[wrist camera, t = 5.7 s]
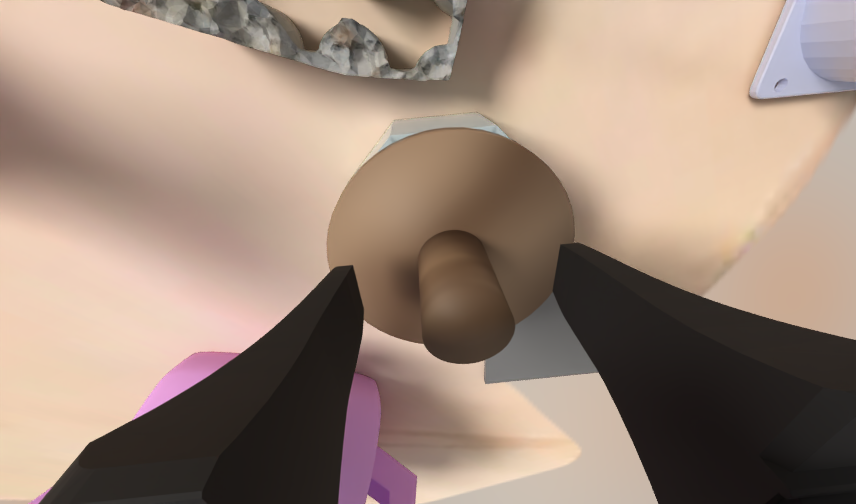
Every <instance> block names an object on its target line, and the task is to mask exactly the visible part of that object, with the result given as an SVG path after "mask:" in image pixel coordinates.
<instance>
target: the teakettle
mask: <svg viewBox="0 0 856 504" xmlns="http://www.w3.org/2000/svg"><path fill="white" fill-rule="evenodd" d="M238 355H239V354H238V353H225V352H198V353H194V354H192V355H191V356H189V357H188V358H186V359H185V360H183V361H182V362H181V363H180V364H178V365H177V366H176V367H174V368H173V369H172V370H171V371H169V372H168V373H167V374H166V375H165V376H164V377H163V378H162V379H161V380H160V382H159V383H158V384H157V386H156V387H155V388H154V390H153V391H152V392H151V394H150V395H149V396H148V398H147V399H146V401H145V402H144V404H143V405H142V407H141V408H140V409H139V411H138V412H137V414H136V415H135V417H134V419H136V418H138V417H140V416H141V415H143V414H145V413H147V412H149V411H151V410H153V409H154V408H156V407H158V406H160V405H161V404H163V403H165V402H167V401H168V400H170V399H172V398H173V397H175V396H177V395H178V394H180V393H182V392H183V391H185V390H187V389H188V388H190V387H192V386H193V385H195V384H196V383H198V382H200V381H201V380H203V379H204V378H206V377H207V376H209V375H211V374H212V373H213V372H215V371H216V370H218V369H219V368H221V367H222V366H224V365H225V364H226V363H228V362H229V361H231V360H232V359H234V358H235V357H237V356H238ZM134 419H133V420H134ZM380 419H381V402H380V396H379V392H378V387H377V384H376V382H375V381H374V380H373V379H371V378H370V377H367V376H364V375H361V374H358V373H354V377H353V382H352V386H351V391H350V396H349V402H348V407H347V415H346V424H345V433H344V443H343V453H342V464H341V474H340V487H339V500H338V504H365V502H366V498H367V494H368V495H369V496H371V497H372V498H373V499H375V500H376V501H377V502H379V503H380V504H415V499H416V483H417V476H416V475H415V474H413V473H412V472H411V471H410V470H408V469H407V468H406V467H404V466H403V465H402V464H400V463H399V462H398V461H396V460H395V459H394V458H393V457H391V456H390V455H389V454H387V453H386V452H385V451H383V450H382V449H381V448H380V447H378V446H377V444H378V437H379V430H380ZM51 488H52V487H51ZM51 488H50V489H51ZM50 489H48V490H47V491H46V492H44V493H43V494H41V495H40V496H38V497H37V498H36V499H34V500H33V501H31V502H30V503H29V504H39V502H40V501H41V500H42V499H43V498H44V496H45V495H46V494H47V493H48V492H49V490H50Z"/></svg>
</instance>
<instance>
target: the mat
mask: <svg viewBox="0 0 856 504" xmlns="http://www.w3.org/2000/svg"><path fill="white" fill-rule="evenodd" d="M588 373H598V371H597V369H596V367H595V366H594V364H593V363H592V361H591V359H590V358H589V356H588V355H587V353H586V351H585V350H584V348H583V347H582V345H581V343H580V342H579V340H578V339H577V337H576V336H575V334H574V332H573V331H572V329H571V327H570V326H569V324H568V323H567V321H566V319H565V318H564V316H563V314H562V312H561V310H560V308H559V305H558V303H557V301H556V298H555V296H554V294H553V292H552V293H551V295H550V296H549V297H548V298H547V299H546V301H545V302H544V303H543V304H542V305H541V306H540V307H539V308H538V309H536V310H535V311H534V312H533V313H532V314H531V315H529V316H528V317H527V318H525V319H524V320H522V321H521V322H519V323H518V324H516V325H515V332H514V335H513V337H512V339H511V341H510V342H509V344H508V345H507V346H506V347H505V348H504V349H503V350H502V351H501V352H499V353H498V354H496V355H495V356H493V357H491V358H488V359H486V360H485V370H484V380H485V384H490V383H500V382H509V381H519V380H528V379H539V378H549V377H558V376H568V375H578V374H588Z"/></svg>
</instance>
